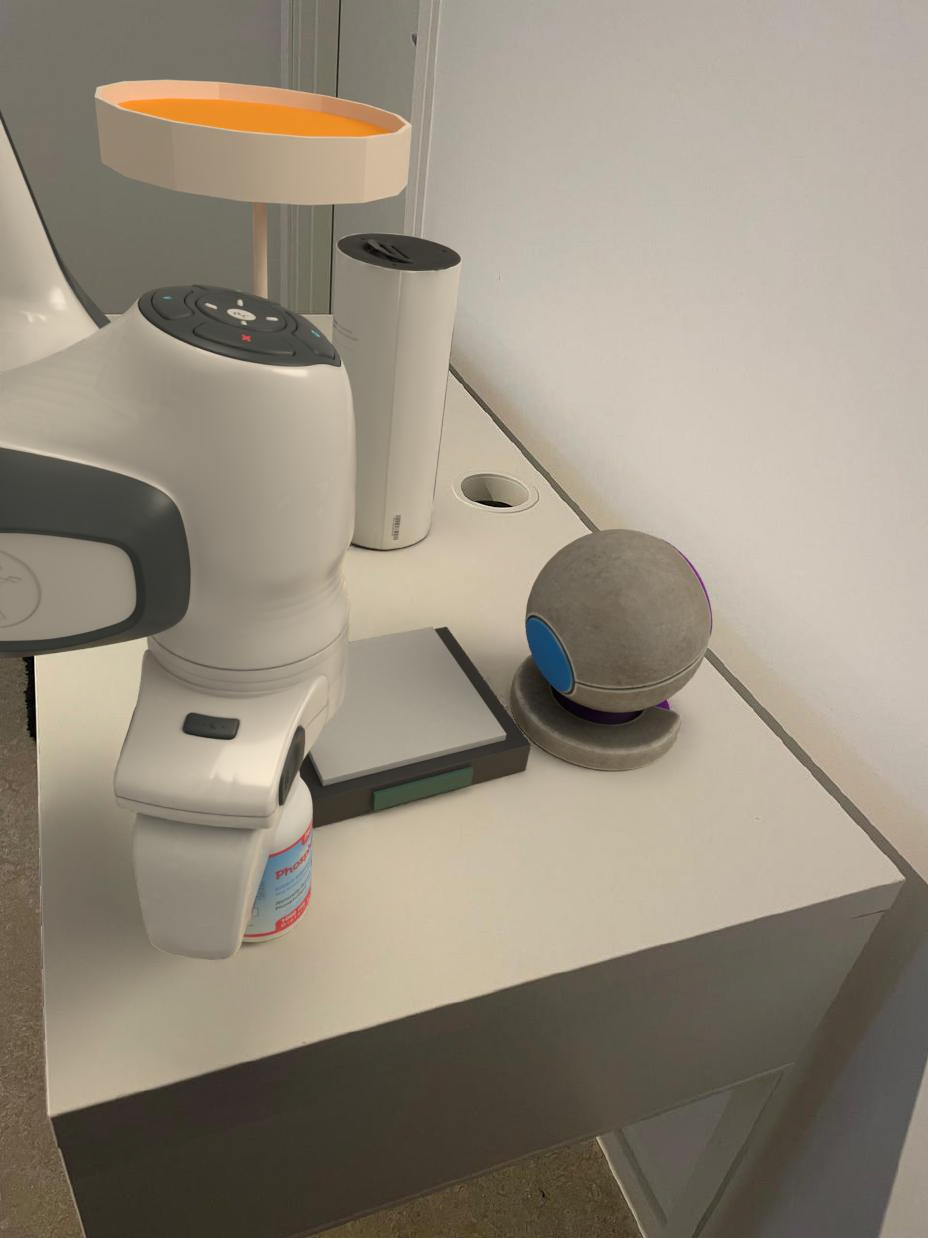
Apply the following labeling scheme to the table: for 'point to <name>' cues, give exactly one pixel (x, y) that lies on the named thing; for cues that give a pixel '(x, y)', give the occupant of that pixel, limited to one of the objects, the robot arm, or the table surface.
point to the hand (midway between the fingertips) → (256, 853)
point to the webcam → (610, 649)
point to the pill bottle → (286, 870)
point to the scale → (409, 728)
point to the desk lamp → (252, 146)
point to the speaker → (395, 375)
